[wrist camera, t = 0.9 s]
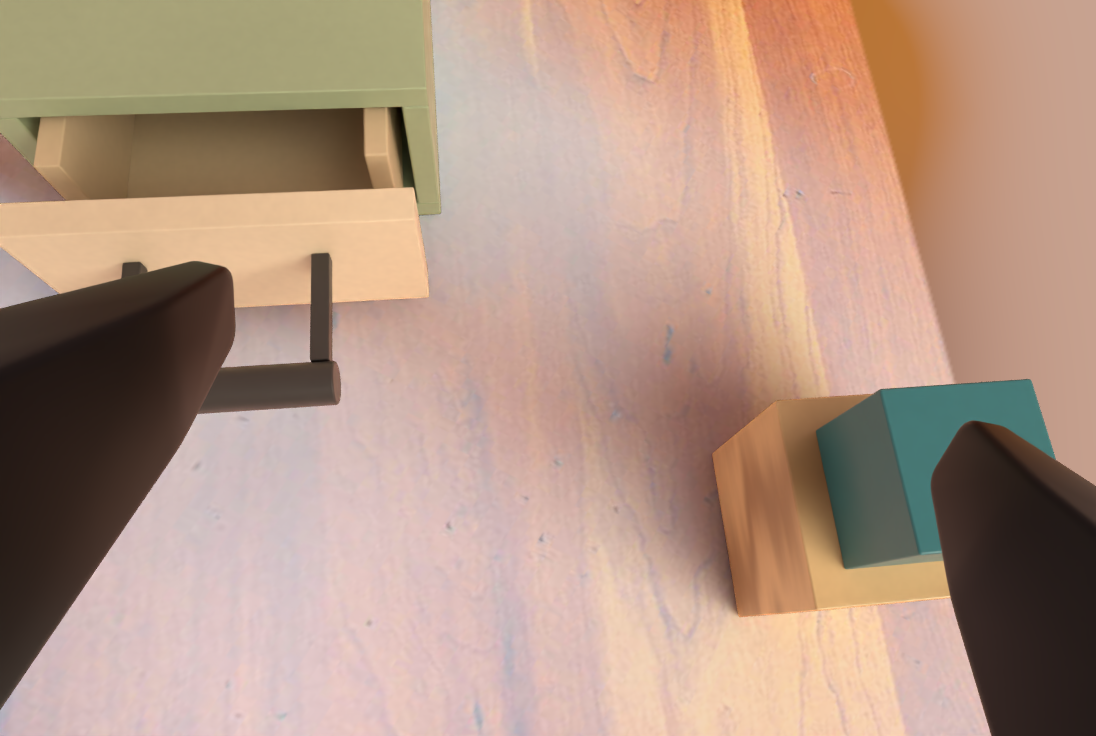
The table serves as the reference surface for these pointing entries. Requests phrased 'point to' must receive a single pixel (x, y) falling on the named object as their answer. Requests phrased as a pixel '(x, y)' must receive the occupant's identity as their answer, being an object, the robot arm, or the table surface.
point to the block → (909, 462)
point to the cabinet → (222, 64)
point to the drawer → (232, 219)
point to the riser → (798, 521)
